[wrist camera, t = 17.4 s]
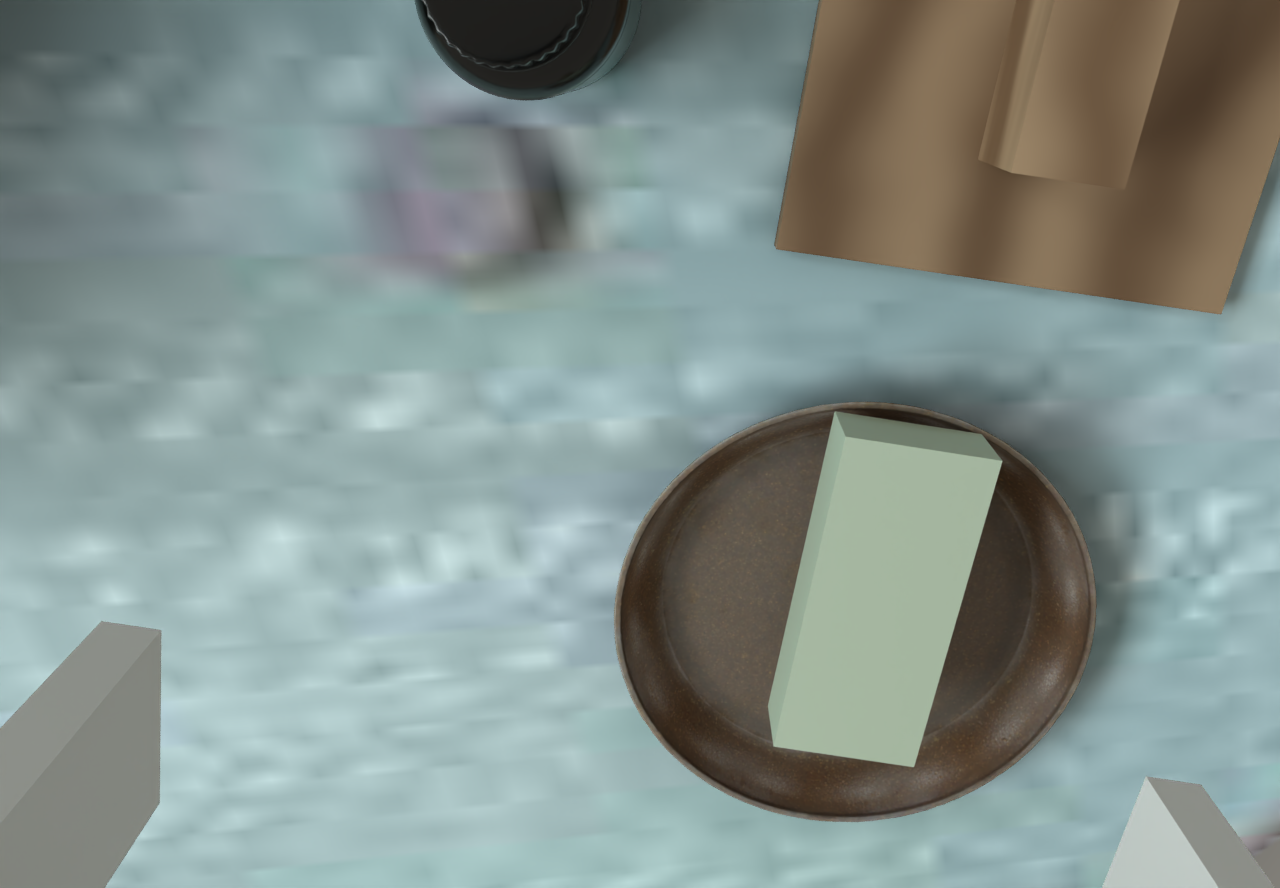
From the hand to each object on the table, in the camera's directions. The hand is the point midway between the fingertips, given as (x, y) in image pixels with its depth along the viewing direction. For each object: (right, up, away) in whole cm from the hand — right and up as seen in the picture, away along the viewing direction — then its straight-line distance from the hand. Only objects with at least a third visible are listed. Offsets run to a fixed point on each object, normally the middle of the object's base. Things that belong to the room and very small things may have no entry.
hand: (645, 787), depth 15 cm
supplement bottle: (-3, +22, +27) cm, 35 cm away
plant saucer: (+9, -2, +36) cm, 37 cm away
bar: (+10, -1, +32) cm, 33 cm away
